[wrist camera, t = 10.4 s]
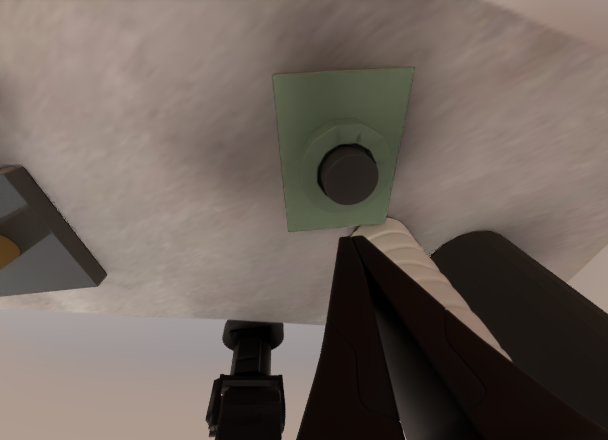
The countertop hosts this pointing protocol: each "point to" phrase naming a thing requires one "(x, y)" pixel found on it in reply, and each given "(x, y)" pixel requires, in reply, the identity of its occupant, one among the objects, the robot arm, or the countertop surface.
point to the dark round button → (349, 175)
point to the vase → (533, 318)
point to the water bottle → (423, 272)
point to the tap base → (38, 242)
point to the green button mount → (338, 138)
